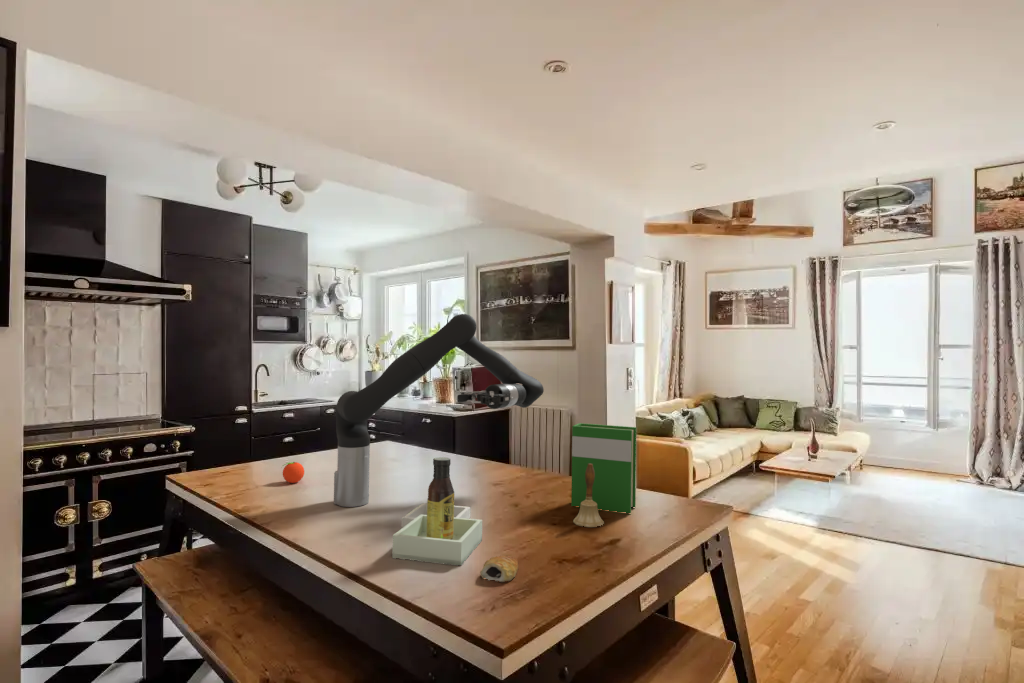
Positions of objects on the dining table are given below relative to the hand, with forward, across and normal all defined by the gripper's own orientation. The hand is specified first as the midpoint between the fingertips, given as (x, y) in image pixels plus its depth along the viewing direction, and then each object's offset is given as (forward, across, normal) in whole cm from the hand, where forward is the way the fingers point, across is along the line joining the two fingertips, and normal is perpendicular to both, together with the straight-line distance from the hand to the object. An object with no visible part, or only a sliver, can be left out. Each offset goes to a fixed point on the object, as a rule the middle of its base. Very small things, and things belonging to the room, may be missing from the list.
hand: (469, 399), depth 156 cm
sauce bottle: (+27, +13, +31) cm, 43 cm away
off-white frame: (+14, 0, +32) cm, 35 cm away
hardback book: (-27, +30, +32) cm, 52 cm away
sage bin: (+28, +13, +32) cm, 44 cm away
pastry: (+31, +32, +32) cm, 55 cm away
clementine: (+10, -68, +32) cm, 76 cm away
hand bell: (-11, +33, +32) cm, 47 cm away
